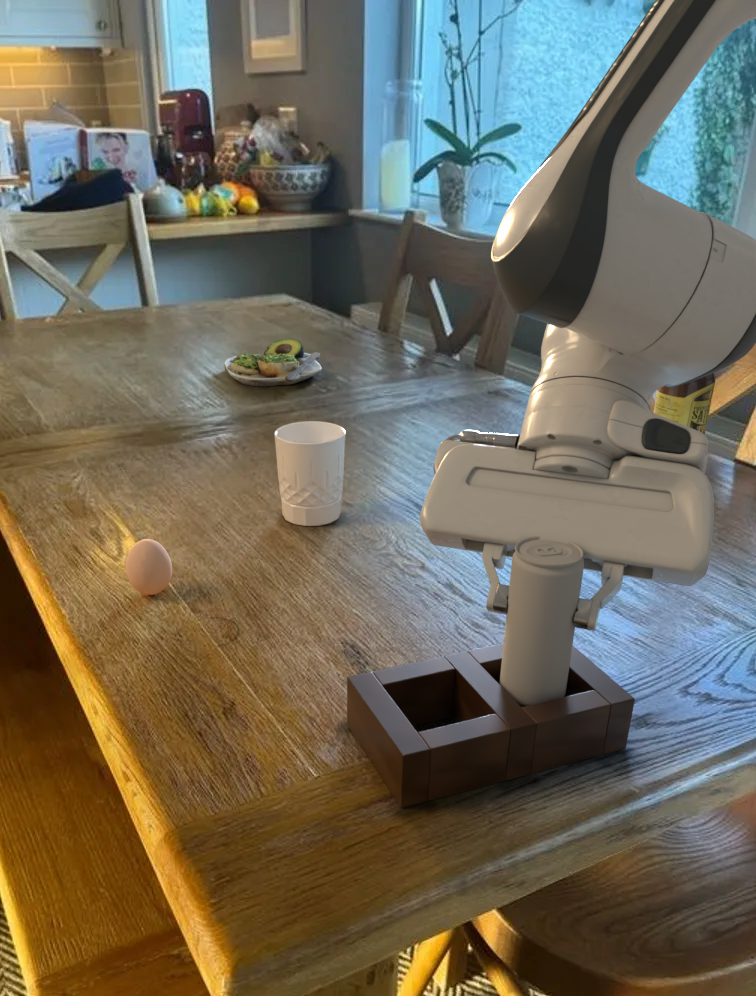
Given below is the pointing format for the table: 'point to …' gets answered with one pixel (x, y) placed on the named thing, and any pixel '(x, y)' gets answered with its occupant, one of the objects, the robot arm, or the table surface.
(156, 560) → the egg
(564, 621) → the beverage can
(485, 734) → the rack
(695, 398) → the sauce bottle
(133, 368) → the table surface
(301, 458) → the white cup
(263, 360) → the avocado toast plate
